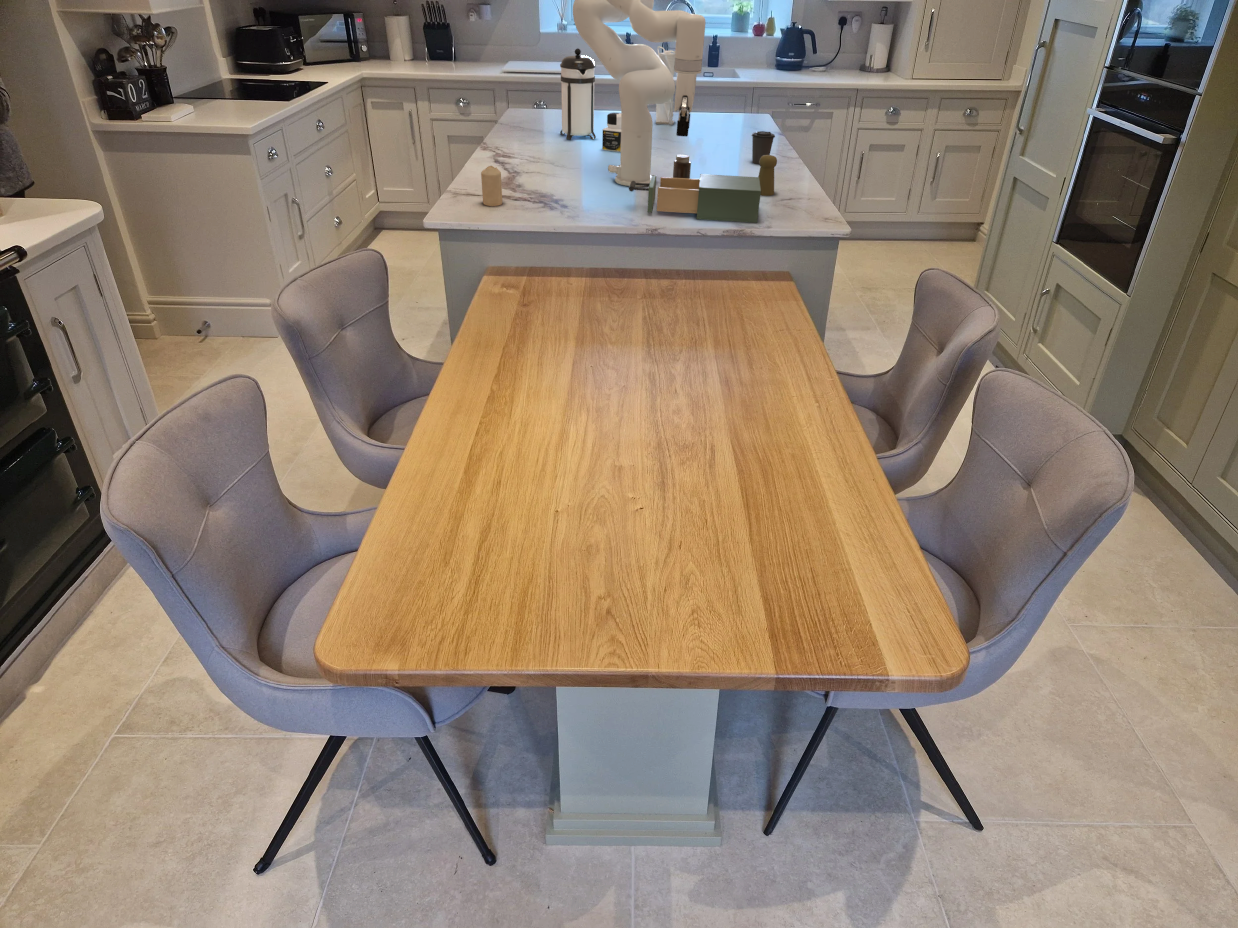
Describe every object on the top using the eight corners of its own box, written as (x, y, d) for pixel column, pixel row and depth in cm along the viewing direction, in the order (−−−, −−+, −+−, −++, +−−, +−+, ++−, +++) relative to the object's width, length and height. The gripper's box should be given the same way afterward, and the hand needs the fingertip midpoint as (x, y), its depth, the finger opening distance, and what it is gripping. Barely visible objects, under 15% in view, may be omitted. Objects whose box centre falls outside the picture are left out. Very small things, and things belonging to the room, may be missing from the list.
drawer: (626, 211, 224) (627, 186, 220) (631, 198, 235) (632, 174, 232) (703, 215, 223) (705, 190, 219) (704, 202, 234) (706, 178, 230)
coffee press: (606, 136, 309) (608, 48, 292) (582, 143, 297) (583, 52, 281) (569, 130, 316) (569, 44, 300) (545, 136, 305) (543, 48, 288)
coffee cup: (776, 163, 280) (780, 132, 274) (763, 167, 275) (766, 135, 269) (757, 159, 284) (760, 128, 279) (743, 162, 279) (746, 131, 274)
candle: (483, 200, 232) (481, 164, 226) (502, 201, 232) (501, 164, 227) (482, 206, 227) (480, 169, 222) (502, 206, 228) (500, 169, 222)
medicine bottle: (601, 150, 289) (602, 114, 282) (609, 146, 295) (610, 111, 288) (620, 152, 287) (621, 116, 280) (627, 148, 292) (629, 113, 286)
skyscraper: (652, 123, 331) (655, 47, 315) (654, 120, 338) (658, 45, 322) (672, 125, 330) (677, 48, 314) (674, 121, 337) (679, 46, 321)
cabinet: (696, 219, 223) (699, 187, 218) (697, 204, 235) (700, 174, 230) (757, 223, 221) (760, 191, 217) (755, 208, 234) (759, 177, 229)
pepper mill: (671, 200, 238) (673, 157, 231) (672, 195, 242) (674, 153, 235) (688, 201, 238) (691, 158, 231) (688, 196, 242) (691, 154, 235)
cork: (773, 196, 244) (778, 158, 238) (753, 195, 245) (758, 157, 239) (774, 191, 249) (779, 154, 243) (754, 189, 250) (759, 152, 244)
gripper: (675, 60, 228) (671, 125, 237) (672, 70, 214) (667, 138, 223) (702, 62, 227) (696, 126, 237) (700, 72, 213) (695, 140, 223)
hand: (682, 132), depth 230 cm, fingers open, 9 cm apart
